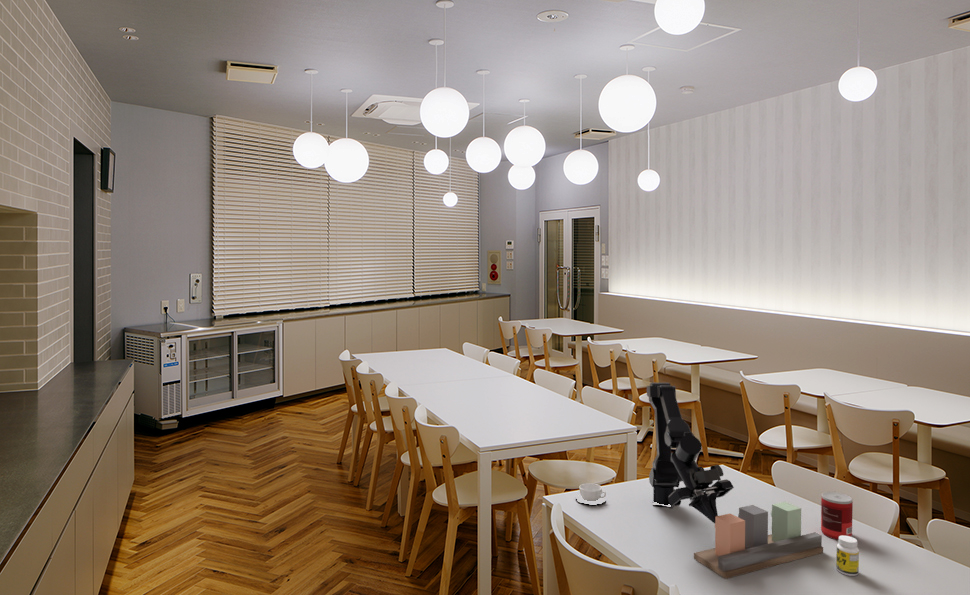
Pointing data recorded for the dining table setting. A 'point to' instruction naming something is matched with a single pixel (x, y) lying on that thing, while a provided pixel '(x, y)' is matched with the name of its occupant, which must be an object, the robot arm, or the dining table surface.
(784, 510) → the sage green block
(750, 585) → the dining table surface
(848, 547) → the supplement bottle
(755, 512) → the gray rectangular block
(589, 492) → the teacup
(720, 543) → the pink upright block
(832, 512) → the canned food
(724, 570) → the wooden display stand
